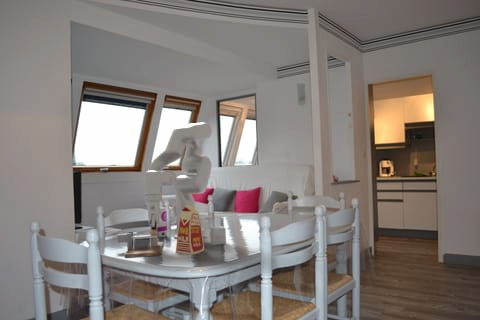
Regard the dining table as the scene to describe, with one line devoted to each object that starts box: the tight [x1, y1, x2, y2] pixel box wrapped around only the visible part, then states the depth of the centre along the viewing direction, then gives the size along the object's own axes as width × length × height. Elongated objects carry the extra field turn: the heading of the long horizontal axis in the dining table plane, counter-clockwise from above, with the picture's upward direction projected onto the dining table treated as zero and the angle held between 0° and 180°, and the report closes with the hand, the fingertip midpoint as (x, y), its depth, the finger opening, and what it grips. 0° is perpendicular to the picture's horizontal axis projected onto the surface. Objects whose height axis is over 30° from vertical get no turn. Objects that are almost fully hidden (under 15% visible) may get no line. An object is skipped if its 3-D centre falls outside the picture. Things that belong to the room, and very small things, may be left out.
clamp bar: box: [117, 233, 157, 244], centre depth 162 cm, size 16×3×3 cm, turn 99°
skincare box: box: [209, 225, 227, 246], centre depth 173 cm, size 6×6×7 cm
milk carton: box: [175, 204, 205, 256], centre depth 157 cm, size 9×9×20 cm
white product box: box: [158, 206, 168, 239], centre depth 197 cm, size 8×8×15 cm
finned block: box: [133, 238, 151, 250], centre depth 162 cm, size 6×7×4 cm
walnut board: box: [124, 241, 164, 258], centre depth 162 cm, size 14×23×1 cm, turn 9°
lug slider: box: [149, 229, 159, 246], centre depth 163 cm, size 3×7×7 cm, turn 9°
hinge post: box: [126, 231, 134, 250], centre depth 161 cm, size 2×5×7 cm, turn 9°
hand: (154, 238), depth 169 cm, fingers closed
